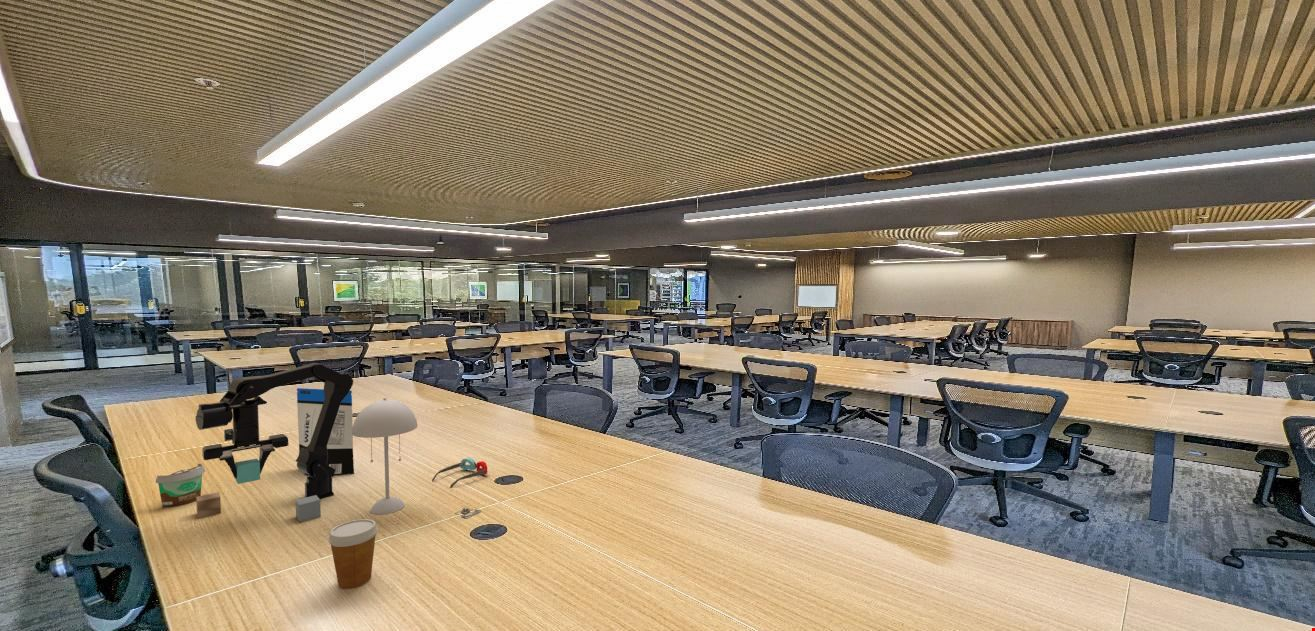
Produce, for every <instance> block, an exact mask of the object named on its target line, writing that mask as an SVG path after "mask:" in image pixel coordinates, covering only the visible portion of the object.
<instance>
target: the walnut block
mask: <svg viewBox="0 0 1315 631" xmlns="http://www.w3.org/2000/svg"><path fill="white" fill-rule="evenodd" d="M195 502H196V503H195V504H196V515H197V516H196V517H197V519H203V518H207V517H210V516H215V515H218V514H220V515H221V514H222V508H221V507H222V505H221V502H222V500H221V494H220V492H219V491H216V492H213V493H207V494H203V495H202V494H201V496H198V497H196V501H195Z"/></svg>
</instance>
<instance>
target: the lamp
mask: <svg viewBox="0 0 1315 631" xmlns="http://www.w3.org/2000/svg"><path fill="white" fill-rule="evenodd" d="M417 420H418V419H417V417H416V415H415V413H414V412H413V410H412V409H411V408H410V407H409V406H408V405H407V404H405V403H404V402H401V401H399V400H395V399H389V398H388V399H387V397H383V399H380V400H377V401H373V402H371V403H369V404H368V405H365V407H363V408H362V410H360V412H359V413H358V414H357V416H356V417H355V419H354V420H353V428H352V435H353V437H355V438H362V439H365V438H366V439H368V438H370V451H371V452H370V455H371V457H370V458H373V446H372V444H373V443H372V441H373V439H374V438H375V439H376V438H383V444H384V445H383V451H384V452H383V455H384V481H385V482H384V488H385V497H383V498H380V499H379V500H377V501H376V502H375V503H374V504H373V505H372V506H371V508H370V510H369V512H370V514H373V515H387V514H391V513H395V512H398V511H400V510H402V509H403V508H405V505H406V504H405V502H404V501H403V500H402V499H400V498H398V497H396V496H390V468H389V467H390V466H389V465H390V464H389V459H390V458H389V437H393V436H397V435H398V437H399V438H398V439H399V441H398V443H399V446H398V447H399V452H401V437H400V435H403V434H406V433H410V432H413V431H414V430H416V429H417V428H418V421H417ZM372 438H373V439H372ZM398 461H399V462H401V461H402V458H401V457H399V458H398ZM369 462H370V463H374V460H373V459H370V461H369Z"/></svg>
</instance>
